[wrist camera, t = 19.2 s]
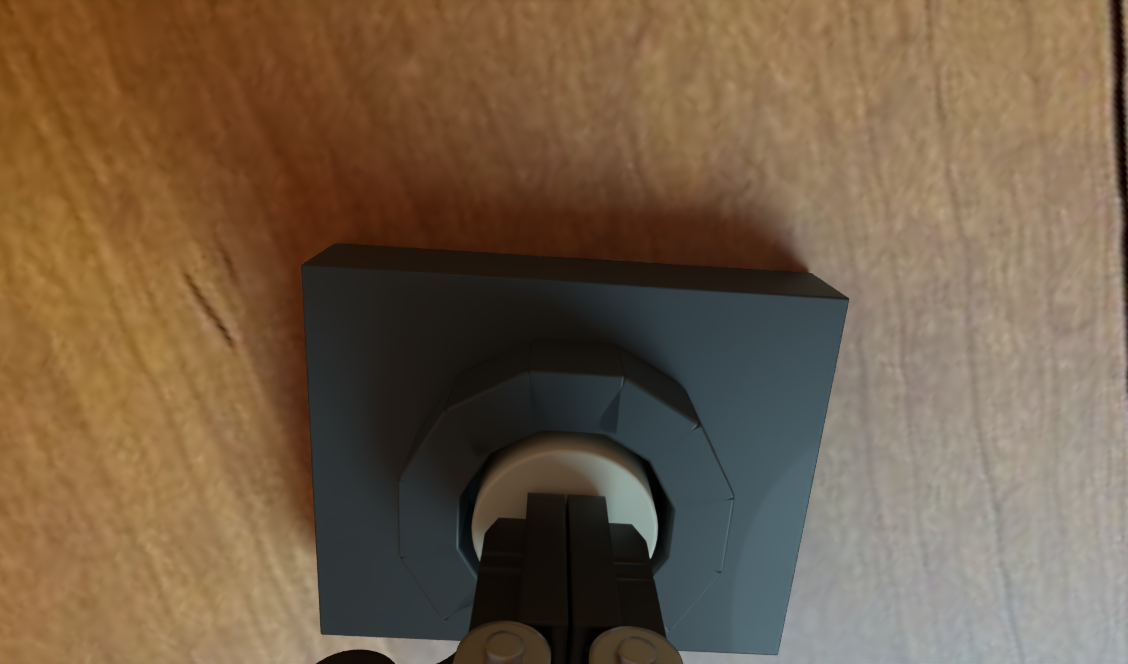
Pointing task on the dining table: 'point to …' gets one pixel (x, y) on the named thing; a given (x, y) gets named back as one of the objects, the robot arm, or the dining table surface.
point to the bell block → (561, 423)
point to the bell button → (565, 480)
